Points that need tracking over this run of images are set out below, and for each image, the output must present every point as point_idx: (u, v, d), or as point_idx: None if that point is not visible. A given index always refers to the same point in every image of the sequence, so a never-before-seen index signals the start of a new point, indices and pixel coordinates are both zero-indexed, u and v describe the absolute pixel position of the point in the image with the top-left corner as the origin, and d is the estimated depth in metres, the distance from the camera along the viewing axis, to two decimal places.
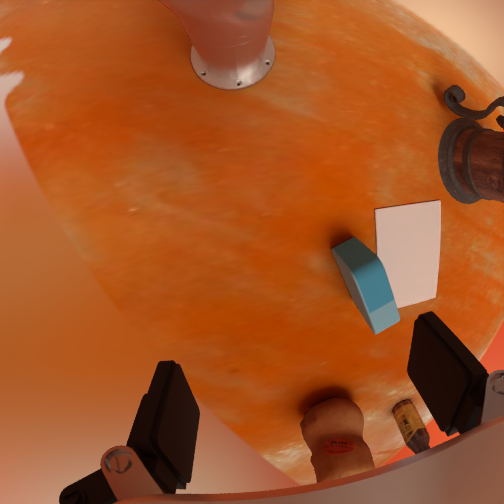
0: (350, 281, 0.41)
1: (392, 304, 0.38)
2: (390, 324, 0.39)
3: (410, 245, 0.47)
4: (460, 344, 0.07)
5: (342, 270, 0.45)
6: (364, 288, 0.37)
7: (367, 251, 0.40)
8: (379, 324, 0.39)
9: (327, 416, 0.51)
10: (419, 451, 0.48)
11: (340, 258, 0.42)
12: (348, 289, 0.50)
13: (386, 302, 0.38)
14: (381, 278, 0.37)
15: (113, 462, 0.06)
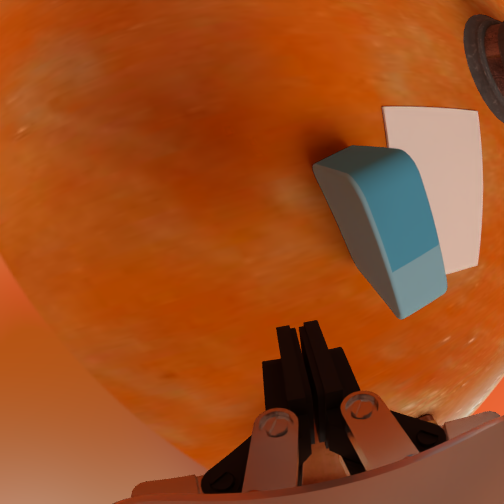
0: (348, 211, 0.21)
1: (435, 254, 0.17)
2: (430, 298, 0.19)
3: (443, 173, 0.27)
4: (327, 357, 0.09)
5: (333, 199, 0.24)
6: (380, 212, 0.16)
7: (378, 149, 0.19)
8: (410, 298, 0.19)
9: (313, 450, 0.31)
10: None
11: (326, 168, 0.21)
12: (346, 243, 0.29)
13: (425, 249, 0.17)
14: (413, 191, 0.16)
15: (268, 427, 0.07)
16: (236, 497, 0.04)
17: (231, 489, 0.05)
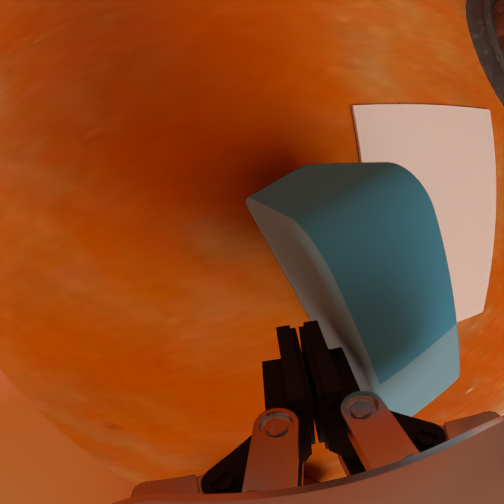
0: (301, 277, 0.13)
1: (449, 339, 0.10)
2: (435, 397, 0.11)
3: (442, 199, 0.19)
4: (327, 357, 0.09)
5: (277, 252, 0.16)
6: (361, 294, 0.08)
7: (349, 166, 0.11)
8: (406, 407, 0.10)
9: None
10: None
11: (261, 205, 0.13)
12: (303, 305, 0.21)
13: (435, 338, 0.09)
14: (424, 243, 0.08)
15: (268, 427, 0.07)
16: (236, 497, 0.04)
17: (231, 489, 0.05)
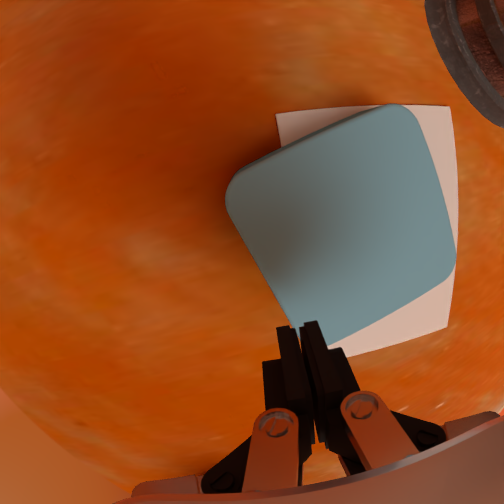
0: (371, 177, 0.14)
1: None
2: None
3: None
4: (327, 357, 0.09)
5: (306, 208, 0.15)
6: None
7: (332, 123, 0.17)
8: None
9: None
10: None
11: (315, 135, 0.14)
12: (298, 317, 0.17)
13: None
14: None
15: (268, 427, 0.07)
16: (236, 497, 0.04)
17: (231, 489, 0.05)
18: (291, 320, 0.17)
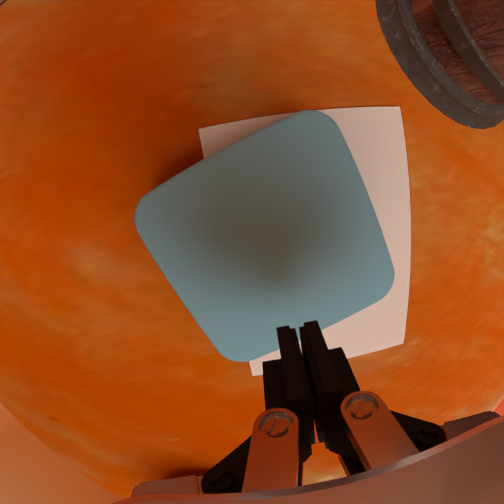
0: (279, 191, 0.15)
1: None
2: None
3: None
4: (327, 357, 0.09)
5: (209, 226, 0.15)
6: None
7: None
8: None
9: None
10: None
11: (216, 152, 0.14)
12: (213, 332, 0.17)
13: None
14: None
15: (268, 427, 0.07)
16: (236, 497, 0.04)
17: (231, 489, 0.05)
18: (207, 334, 0.17)
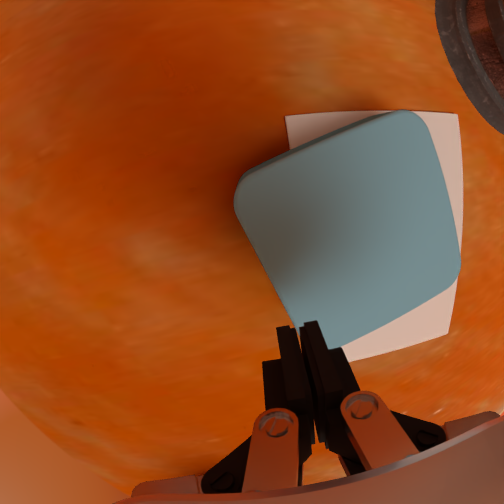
0: (381, 182, 0.14)
1: None
2: None
3: None
4: (327, 357, 0.09)
5: (315, 212, 0.15)
6: None
7: None
8: None
9: None
10: None
11: (326, 139, 0.14)
12: (303, 321, 0.17)
13: None
14: None
15: (268, 427, 0.07)
16: (236, 497, 0.04)
17: (231, 489, 0.05)
18: (296, 324, 0.17)
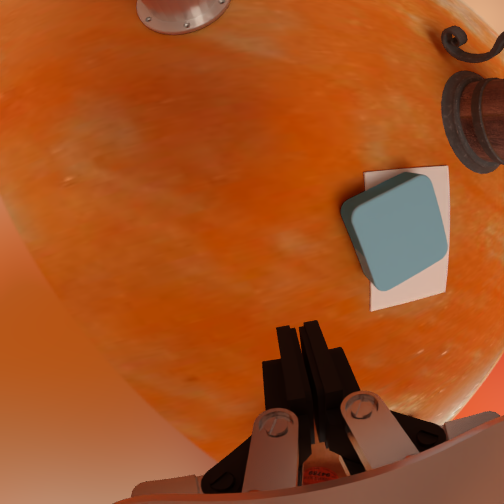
0: (410, 208, 0.31)
1: None
2: None
3: None
4: (327, 357, 0.09)
5: (384, 222, 0.32)
6: None
7: (390, 179, 0.34)
8: None
9: None
10: None
11: (389, 190, 0.31)
12: (376, 273, 0.34)
13: None
14: None
15: (268, 427, 0.07)
16: (236, 497, 0.04)
17: (231, 489, 0.05)
18: (373, 275, 0.34)
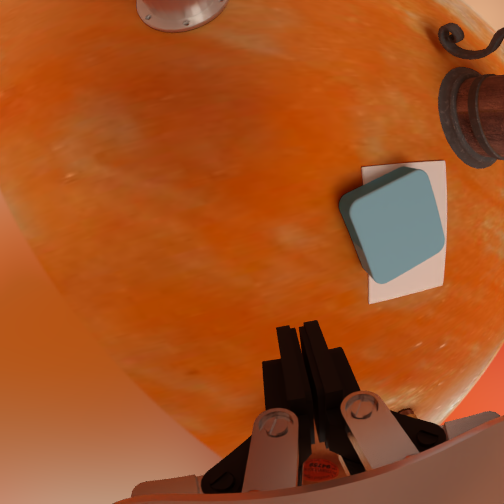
0: (407, 202, 0.32)
1: None
2: None
3: None
4: (327, 357, 0.09)
5: (381, 215, 0.32)
6: None
7: (387, 173, 0.35)
8: None
9: None
10: None
11: (386, 184, 0.31)
12: (374, 266, 0.35)
13: None
14: None
15: (268, 427, 0.07)
16: (236, 497, 0.04)
17: (231, 489, 0.05)
18: (371, 268, 0.35)
